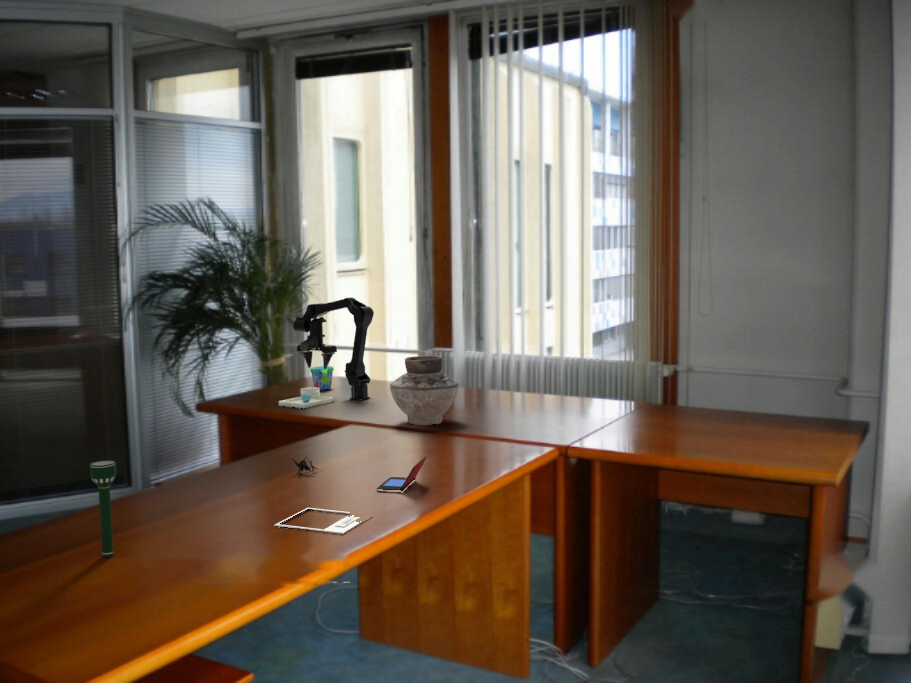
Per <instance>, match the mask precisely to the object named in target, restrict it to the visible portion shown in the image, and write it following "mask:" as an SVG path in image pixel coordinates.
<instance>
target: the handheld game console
mask: <svg viewBox="0 0 911 683" xmlns="http://www.w3.org/2000/svg"><path fill="white" fill-rule="evenodd" d="M426 460H427V456H425V457H423V458H422V459H420V460H419V462H417V463H416V464H415V465H413V467H412V468H411V470H410V471H409V473H408V475H407V477H402V476H401V477H400V476H399V477H398V476H391V477H388V478H387V479H386V480H385V481H384V482H383V483H381V484H380V485H378V487H377V488H376V490H377V489H383V490H401V491H403V490H404V489H405V488H406V487H407V486H408V485H409V484H410V483H411V482H412V481H413V480H415V479H416V480H417V478H416V477H417V476H418V474H419V472H420V471H421V469H422V468H423V465H424V463H426Z"/></svg>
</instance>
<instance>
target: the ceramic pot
mask: <svg viewBox="0 0 911 683" xmlns="http://www.w3.org/2000/svg"><path fill="white" fill-rule="evenodd" d="M404 365H405V370H406V373H403V374H402V375H400V376H399V377H397V378H395V379H394V380H393V381H392V382H391V383H390V384H389V390H390V393H391V396H392V398H393V401H394V402H395V404H396V406H397V407H398V408H399V409H400V411H401V412H402V413H404V415H406V417H407V423H409V424H410V425H413V424H414V426H415V425H416V426H433V425H432V424H436V425H439V424H441V423H442V422H443V415H444V414H445V413H446V412H447V411H448V410H449V409H450V408H451V406H452V405H453V404H454V402H455V399H456V398H457V395H458V392H459V386H460V384H459V383H458V382H457V381H456V380H455V379H453V378H452V377H450V376H449V375H447V374H445V373H442V372H441V371H442V368H443V358H442V356H439V355H417V356H408V357H405V358H404Z"/></svg>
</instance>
